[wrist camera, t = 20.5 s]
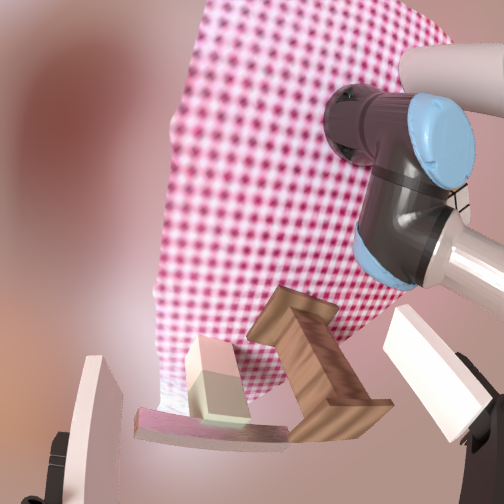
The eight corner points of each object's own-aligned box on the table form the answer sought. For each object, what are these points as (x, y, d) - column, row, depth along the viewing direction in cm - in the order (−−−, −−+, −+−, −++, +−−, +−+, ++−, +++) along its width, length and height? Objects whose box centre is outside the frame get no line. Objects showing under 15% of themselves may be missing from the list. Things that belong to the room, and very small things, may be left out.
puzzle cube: (442, 207, 60) (471, 222, 51) (415, 226, 60) (443, 245, 51) (436, 170, 55) (468, 182, 46) (407, 188, 55) (438, 204, 47)
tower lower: (184, 358, 62) (187, 393, 53) (197, 334, 60) (202, 369, 51) (217, 366, 65) (223, 399, 56) (231, 343, 63) (240, 377, 54)
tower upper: (187, 393, 53) (192, 434, 45) (202, 369, 51) (208, 413, 42) (223, 399, 56) (231, 438, 48) (240, 377, 54) (251, 418, 45)
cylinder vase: (432, 49, 42) (527, 50, 20) (441, 103, 48) (536, 122, 26) (390, 46, 41) (495, 37, 19) (402, 106, 47) (507, 124, 25)
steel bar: (134, 418, 40) (133, 438, 36) (139, 406, 39) (138, 427, 35) (276, 436, 51) (281, 452, 47) (287, 426, 49) (293, 442, 46)
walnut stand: (246, 335, 63) (282, 448, 38) (278, 284, 58) (338, 396, 34) (303, 349, 69) (350, 444, 44) (336, 304, 64) (402, 397, 40)
